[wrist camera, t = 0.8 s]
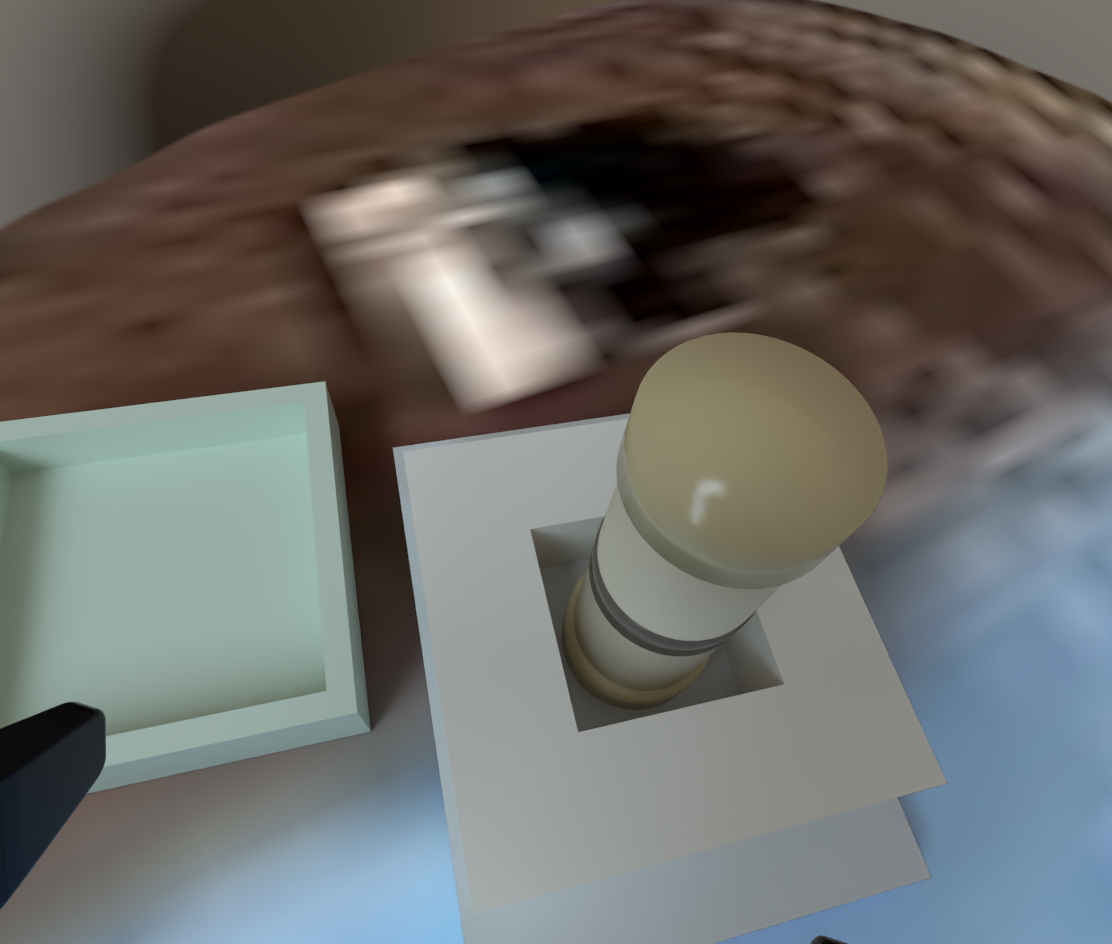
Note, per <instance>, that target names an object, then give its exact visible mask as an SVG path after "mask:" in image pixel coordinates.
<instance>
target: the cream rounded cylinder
mask: <svg viewBox="0 0 1112 944" xmlns="http://www.w3.org/2000/svg"><path fill="white" fill-rule="evenodd" d="M887 471H888V465H887V451H886V445H885V440H884V437H883V434H882V431H881V428H880V426H879V423H878V421H877V419H876V417H875V415H874V413H873V411H872V410H871V408H870V406H869V405H868V403H867V402H866V400H865V399H864V398H863V396H862V395H861V394H860V393H859V391H858V390H857V389H856V388H855V387H854V386H853V385H852V384H851V383H850V381H849V380H848V379H847V378H846V377H844V376H843V375H842V374H841V373H840V372H839V371H837V370H836V369H835V368H834V367H832V366H831V365H830V364H828V363H827V362H825V361H824V360H822V359H821V358H819V357H817V356H816V355H814V354H812V353H810V352H809V351H807V350H805V349H802V348H800V347H798V346H796V345H794V344H791V343H788V342H785V341H782V340H779V339H776V338H772V337H768V336H763V335H757V334H750V333H718V334H712V335H707V336H702V337H699V338H696V339H692V340H689V341H687V342H685V343H683V344H681V345H678V346H677V347H675V348H673V349H672V350H670V351H669V352H667V353H666V354H665V355H663V356H662V357H661V358H660V359H659V360H658V361H657V362H656V363H655V364H654V365H653V366H652V367H651V368H650V370H649V371H648V372H647V374H646V376H645V377H644V379H643V381H642V382H641V384H640V387H639V389H638V392H637V394H636V397H635V400H634V404H633V407H632V410H631V413H630V416H629V419H628V422H627V425H626V428H625V431H624V434H623V437H622V440H621V443H620V447H619V451H618V456H617V467H616V474H617V484H616V487H615V490H614V493H613V496H612V498H611V501H610V504H609V507H608V510H607V513H606V515H605V516H604V518H603V520H602V522H601V525H600V527H599V530H598V533H597V536H596V539H595V541H594V544H593V547H592V551H591V555H590V561H589V564H588V567H587V570H586V572H585V574H584V575H583V576H582V577H581V578H580V580H579V581H578V582H577V584H576V586H575V588H574V590H573V592H572V595H571V597H570V600H569V603H568V606H567V609H566V612H565V615H564V619H563V624H562V633H561V635H562V647H563V652H564V656H565V659H566V662H567V664H568V666H569V668H570V670H571V672H572V673H573V675H574V677H575V678H576V679H577V681H578V682H579V683H580V684H581V685H582V686H583V687H584V688H585V689H586V690H587V691H588V692H589V693H590V694H592V695H593V696H594V697H596V698H597V699H599V700H601V701H603V702H604V703H607V704H609V705H612V706H614V707H618V708H622V709H630V710H643V709H650V708H654V707H657V706H660V705H662V704H664V703H666V702H668V701H670V700H671V699H673V698H674V697H676V696H677V695H678V694H679V693H680V692H681V691H682V690H684V689H685V688H686V687H687V686H688V685H689V684H690V683H691V682H692V681H693V680H694V679H695V678H697V676H698V675H699V674H700V673H701V671H702V670H703V669H704V667H705V665H706V664H707V662H708V660H709V657H710V655H711V654H712V653H713V652H714V651H715V650H716V649H717V648H718V647H719V646H720V645H722V644H723V643H725V642H726V641H727V640H729V639H730V638H731V637H732V636H733V635H734V634H735V633H736V632H737V631H738V630H739V629H740V628H741V627H743V626H744V625H745V624H746V623H747V622H748V621H749V620H750V618H751V617H752V616H753V615H754V614H755V612H756V611H757V609H758V608H759V607H760V606H761V605H762V604H763V603H764V602H765V601H766V600H767V599H768V598H769V597H771V596H772V595H773V594H774V593H775V592H776V591H777V590H778V589H779V588H780V587H781V586H782V585H783V584H787V583H789V582H792V581H794V580H796V579H798V578H801V577H802V576H804V575H805V574H807V573H809V572H810V571H812V570H813V569H814V568H815V567H816V566H818V565H819V564H820V563H821V562H822V561H823V560H824V559H825V558H826V557H827V556H829V555H830V554H831V553H832V552H833V551H834V550H835V549H836V548H837V547H838V546H839V545H840V544H841V543H843V542H844V541H845V540H846V539H847V538H848V537H849V536H850V535H851V534H852V533H853V532H854V531H856V530H857V529H858V528H859V527H860V526H861V525H862V524H863V523H864V522H865V521H866V520H867V519H868V518H869V516H870V515H871V514H872V513H873V511H874V510H875V508H876V506H877V504H878V503H879V501H880V499H881V497H882V494H883V490H884V487H885V484H886V478H887Z"/></svg>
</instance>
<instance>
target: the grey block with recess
mask: <svg viewBox="0 0 1112 944" xmlns="http://www.w3.org/2000/svg"><path fill="white" fill-rule="evenodd" d="M629 416H630V414H623V415H616V416H609V417H602V418H595V419H588V420H582V421H575V422H568V423H561V424H554V425H547V426H540V427H533V428H526V429H519V430H512V431H505V432H499V433H492V434H485V435H478V436H471V437H464V438H457V439H450V440H443V441H436V442H429V443H423V444H416V445H409V446H402V447H395V448H393V453H394V460H395V467H396V474H397V481H398V488H399V494H400V501H401V508H402V515H403V522H404V529H405V536H406V543H407V550H408V557H409V564H410V571H411V578H412V585H413V591H414V598H415V605H416V612H417V619H418V626H419V633H420V640H421V647H422V654H423V661H424V668H425V675H426V682H427V688H428V695H429V702H430V709H431V716H432V723H433V730H434V737H435V744H436V751H437V758H438V765H439V772H440V778H441V785H442V792H443V799H444V806H445V813H446V820H447V827H448V834H449V841H450V848H451V855H452V862H453V869H454V875H455V882H456V889H457V896H458V903H459V910H460V917H461V924H462V931H463V938H464V944H714V943H718V942H721V941H724V940H728V939H731V938H734V937H738V936H741V935H744V934H747V933H751V932H754V931H757V930H761V929H764V928H767V927H770V926H774V925H777V924H780V923H784V922H787V921H790V920H793V919H797V918H800V917H803V916H807V915H810V914H813V913H816V912H820V911H823V910H826V909H830V908H833V907H836V906H839V905H843V904H846V903H849V902H853V901H856V900H859V899H862V898H866V897H869V896H872V895H876V894H879V893H882V892H885V891H889V890H892V889H895V888H899V887H902V886H905V885H908V884H912V883H915V882H918V881H922V880H925V879H928V878H931V875H930V873H929V870H928V868H927V866H926V863H925V861H924V859H923V856H922V854H921V852H920V849H919V847H918V844H917V842H916V840H915V837H914V835H913V833H912V830H911V828H910V826H909V823H908V821H907V818H906V816H905V814H904V811H903V809H902V807H901V804H900V802H899V799H898V797H901V796H904V795H908V794H912V793H915V792H919V791H923V790H926V789H930V788H933V787H937V786H941V785H944V784H948V783H947V781H946V779H945V777H944V775H943V773H942V770H941V768H940V766H939V764H938V762H937V759H936V757H935V755H934V753H933V751H932V749H931V746H930V744H929V742H928V740H927V738H926V735H925V733H924V731H923V729H922V727H921V724H920V722H919V720H918V718H917V716H916V714H915V711H914V709H913V707H912V705H911V703H910V700H909V698H908V696H907V694H906V692H905V689H904V687H903V685H902V683H901V681H900V679H899V676H898V674H897V672H896V670H895V668H894V665H893V663H892V661H891V659H890V657H889V654H888V652H887V650H886V648H885V646H884V644H883V641H882V639H881V637H880V635H879V633H878V630H877V628H876V626H875V624H874V622H873V620H872V617H871V615H870V613H869V611H868V609H867V606H866V604H865V602H864V600H863V598H862V595H861V593H860V591H859V589H858V587H857V585H856V582H855V580H854V578H853V576H852V574H851V571H850V569H849V567H848V565H847V563H846V560H845V558H844V556H843V554H842V552H841V550H840V547H839V546H838V547H837V548H836V549H835V550H834V551H833V552H832V553H831V554H830V555H829V556H827V557H826V558H825V559H824V560H823V561H822V562H821V563H820V564H819V565H818V566H816V567H815V568H814V569H813V570H812V571H810V572H809V573H807V574H805V575H804V576H802V577H801V578H798V579H796V580H794V581H792V582H789V583H787V584H783V585H782V586H781V587H780V588H779V589H778V590H777V591H776V592H775V593H774V594H773V595H772V596H771V597H769V598H768V599H767V600H766V601H765V602H764V603H763V604H762V605H761V606H760V607H759V608H758V609H757V611H756V612H755V614H754V615H753V616H752V617H751V618H750V620H749V621H748V622H747V623H746V624H745V625H744V626H743V627H741V628H740V629H739V630H738V631H737V632H736V633H735V634H734V635H733V636H732V637H731V638H730V639H729V640H727V641H726V642H725V643H723V644H722V645H720V646H719V647H718V648H717V649H716V650H715V651H714V652H713V653H712V654H711V655H710V657H709V660H708V662H707V664H706V665H705V667H704V669H703V670H702V671H701V673H700V674H699V675H698V676H697V678H695V679H694V680H693V681H692V682H691V683H690V684H689V685H688V686H687V687H686V688H685V689H684V690H682V691H681V692H680V693H679V694H678V695H677V696H676V697H674V698H673V699H671V700H670V701H668V702H666V703H664V704H662V705H660V706H657V707H654V708H650V709H643V710H630V709H622V708H618V707H614V706H612V705H609V704H607V703H604V702H603V701H601V700H599V699H597V698H596V697H594V696H593V695H592V694H590V693H589V692H588V691H587V690H586V689H585V688H584V687H583V686H582V685H581V684H580V683H579V682H578V681H577V679H576V678H575V677H574V675H573V673H572V672H571V670H570V668H569V666H568V664H567V662H566V659H565V656H564V652H563V647H562V635H561V633H562V624H563V619H564V615H565V612H566V609H567V606H568V603H569V600H570V597H571V595H572V592H573V590H574V588H575V586H576V584H577V582H578V581H579V580H580V578H581V577H582V576H583V575H584V574H585V572H586V570H587V567H588V564H589V561H590V555H591V551H592V547H593V544H594V541H595V539H596V536H597V533H598V530H599V527H600V525H601V522H602V520H603V518H604V516H605V515H606V513H607V510H608V507H609V504H610V501H611V498H612V496H613V493H614V490H615V487H616V484H617V474H616V467H617V456H618V451H619V447H620V443H621V440H622V437H623V434H624V431H625V428H626V425H627V422H628V419H629Z"/></svg>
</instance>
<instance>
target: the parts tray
mask: <svg viewBox="0 0 1112 944" xmlns="http://www.w3.org/2000/svg"><path fill="white" fill-rule="evenodd" d="M66 702H79V703H82V704H85V705H89V706H92V707H95V708H98V709H100V710H102V711H103V713H104V715H105V718H106V760H105V764H104V767H103V770H102V772H101V774H100V775H99V777H98V779H97V780H96V782H95V783H94V784H93V786H92V787H91V788H90V790H89V791H88V793H93V792H97V791H102V790H106V789H111V788H115V787H120V786H124V785H129V784H134V783H138V782H143V781H147V780H152V779H156V778H161V777H165V776H170V775H174V774H179V773H184V772H188V771H193V770H197V769H202V768H206V767H211V766H215V765H220V764H225V763H229V762H234V761H238V760H243V759H247V758H252V757H256V756H261V755H266V754H270V753H275V752H279V751H284V750H288V749H293V748H297V747H302V746H307V745H311V744H316V743H320V742H325V741H329V740H334V739H338V738H343V737H348V736H352V735H357V734H361V733H366V732H370V731H371V728H370V718H369V708H368V699H367V689H366V680H365V670H364V661H363V651H362V641H361V632H360V622H359V613H358V603H357V593H356V584H355V574H354V565H353V555H352V545H351V536H350V526H349V517H348V507H347V497H346V488H345V478H344V469H343V459H342V449H341V440H340V430H339V424H338V421H337V418H336V415H335V412H334V408H333V405H332V402H331V399H330V395H329V392H328V389H327V386H326V382H317V383H309V384H301V385H293V386H285V387H277V388H269V389H261V390H253V391H245V392H237V393H229V394H221V395H213V396H205V397H197V398H189V399H181V400H173V401H165V402H157V403H148V404H140V405H132V406H124V407H116V408H108V409H100V410H92V411H84V412H76V413H68V414H60V415H52V416H44V417H36V418H28V419H20V420H12V421H4V422H0V728H3V727H5V726H8V725H10V724H13V723H15V722H18V721H20V720H23V719H25V718H28V717H30V716H33V715H35V714H38V713H40V712H43V711H45V710H48V709H50V708H53V707H55V706H58V705H60V704H63V703H66ZM88 793H87V794H88Z"/></svg>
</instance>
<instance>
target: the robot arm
mask: <svg viewBox="0 0 1112 944" xmlns="http://www.w3.org/2000/svg"><path fill="white" fill-rule="evenodd" d="M105 760H106V718H105V715H104V713H103V711H102V710H100V709H98V708H95V707H92V706H89V705H85V704H82V703H79V702H66V703H63V704H60V705H58V706H55V707H53V708H50V709H48V710H45V711H43V712H40V713H38V714H35V715H33V716H30V717H28V718H25V719H23V720H20V721H18V722H15V723H13V724H10V725H8V726H5V727H3V728H0V909H1V908H2V907H3V906H4V905H5V903H6V902H7V901H8V900H9V899H10V897H11V896H12V895H13V893H14V892H15V891H16V890H17V888H18V887H19V886H20V884H21V883H22V882H23V880H24V879H25V878H26V876H27V875H28V874H29V872H30V871H31V870H32V868H33V867H34V865H35V864H36V863H37V861H38V860H39V859H40V857H41V856H42V854H43V853H44V852H45V850H46V849H47V848H48V846H49V845H50V843H51V842H52V841H53V839H54V838H55V837H56V835H57V834H58V832H59V831H60V830H61V828H62V827H63V826H64V824H65V823H66V821H67V820H68V819H69V817H70V816H71V815H72V813H73V812H74V810H75V809H76V808H77V806H78V805H79V804H80V802H81V801H82V799H83V798H84V797H85V795H86V794H87V793H88V791H89V790H90V788H91V787H92V786H93V784H94V783H95V782H96V780H97V779H98V777H99V775H100V774H101V772H102V770H103V767H104V764H105ZM811 944H847V943H845V942H842V941H838V940H835V939H832V938H829V937H826V936H818V937H816V938H814V940H813V941H812V942H811Z"/></svg>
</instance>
